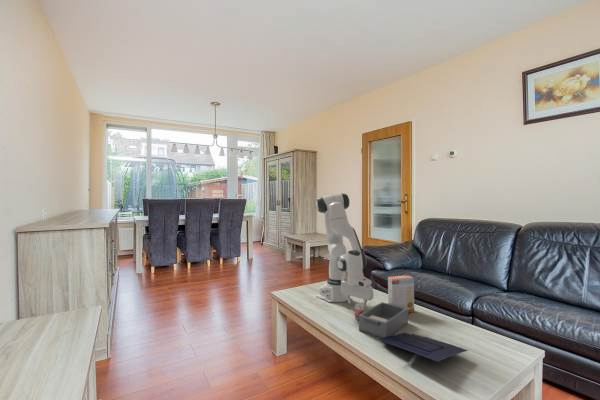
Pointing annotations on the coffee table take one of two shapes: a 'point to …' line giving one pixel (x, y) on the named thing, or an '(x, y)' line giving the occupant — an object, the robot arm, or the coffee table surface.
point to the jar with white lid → (358, 310)
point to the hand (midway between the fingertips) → (356, 304)
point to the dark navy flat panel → (423, 346)
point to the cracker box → (401, 291)
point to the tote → (381, 329)
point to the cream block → (378, 318)
